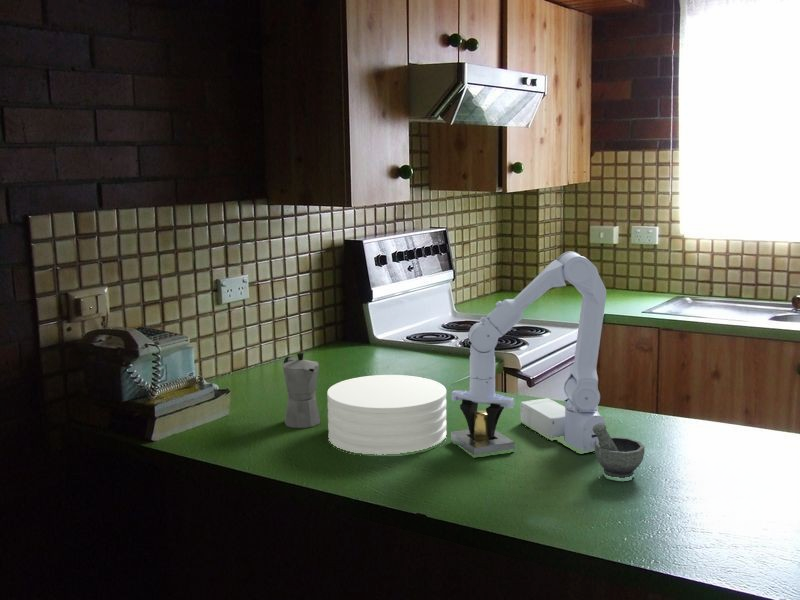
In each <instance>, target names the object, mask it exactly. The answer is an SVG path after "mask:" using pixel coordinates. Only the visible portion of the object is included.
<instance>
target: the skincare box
mask: <svg viewBox="0 0 800 600" xmlns="http://www.w3.org/2000/svg"><path fill="white" fill-rule="evenodd" d="M520 420H521V421H522V422H524V423H526V424H527V425H529V426H531V427H532V428H534V429H536V430H537V431H539V432H540V433H542V434H544V435H545V436H547V437H549V438H554V437H560V436H565V405H562V404H560V403H559V402H556V401H554V400H552V399H550V398H549V397H546V398H538V399H531V400H526V401H520ZM520 420H519V421H520Z"/></svg>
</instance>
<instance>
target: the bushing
mask: <svg viewBox="0 0 800 600" xmlns="http://www.w3.org/2000/svg"><path fill="white" fill-rule="evenodd" d="M473 440H474V441H476V442H480V441H487V440H491V437H488V419H487V413H486V410H483V409H482V410H477V411H475V412H474V438H473Z"/></svg>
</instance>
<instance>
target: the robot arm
mask: <svg viewBox="0 0 800 600" xmlns="http://www.w3.org/2000/svg"><path fill="white" fill-rule="evenodd" d="M566 281H567V282H568V283H569V284H571V285H573V286H574V288H575V289H576V290H577V291H578V293H580V295H582V298H581V306H580V314H579V320H578V321H579V322H578V329H577V337H576V344H575V352H574V358H573V364H572V365H571V367H570V370H569V375H568V377H567V379H566V380H565V381H564V384H563V391H564V394H565V396H566V397H567V398H568V399H567V401H566V402H565V404H564V407H565V436H564V441H565V442H566V443H567V444H569V445H572V446H574V447H577V448H579V449H580V450H582V451H586V450H587V451H588V450H593V449H594V450H595V442H597V441H598V438H597V435H596V434H595V433H594V432H593V430H592V429H593V427H594V426H595V425H596V424H598V423H604V424H605V426H606V427H607V424H606V420H605V418H604V417H603V416H601V414H600V413H599V410H598V409H599V406H598V405H599V404H600V401H601V394H600V391H599V386H598V385H599V376H598V374H597V373H598V372H597V366H598V365H597V364H598V358H599V352H600V351H599V350H600V344H601V336H602V335H601V334H602V330H603V323H604V322H603V321H604V315H605V308H606V300H607V289H606V288H607V287H606V286H605V284H604V282H603V279H602V278H601V276H600V274H599V271H598V267H597V266H595V265H594V263H592V262H591V261H590V260H589V259H588V258H587V257H585V256H581V254H579V253H578V252H576V251H572V250H571V251H565V252H563V253H562V254H560V255H559V257H558V258H557V259H554V260H553V261H551V262H550V263H549V264H548V265H547V266H546V267H545V268H544V269H542V271H541V272H540V273H539V274H538V275H536V277H535V278H534V279H532V281H530V283H528V284H527V286H525V287H524V288H523V289H522V290H521V291H520V292H519V293H518V294H517V295H516V296H515V297H514V298H513V299H512V298H511V299H509V298H506V299H504V300H503V301H501V300H498V301H497V302H496V303H495V306H496V307H494V309H492V310H491V311H490V312H489V313H488V314H487V315H486V316H481V317H480V318H479V322H476V323H474V324H473V325H472V326H470V329H469V331H468V333H467V338H468V340H469V342H470V343H471V344H470V349H469V353H470V355H469V390H459V389H458V390H455V389H454V390H453V391H451V401H461V404H459V409H460V410H461V412H462V413H463V415H464V418H465V420H466V423H467V427H468V429H469V432H470V434H473V433H474V412H475V411H478V405H479V404H483V405H489V406H488V407H486V408H485V411H486V413H487V419H488V437H492V436H493V435H494V434H495V430H496V428H497V423H498V421H499V419H500V416H501V414H502V412H503V411H504V409H505V408H506V409H513V408H514V407H515V397H509V396H504V395H503V394H498V393H496V355H495V348H496V347H497V345H498V340H499V338H502V337H504V336H505V334H507V333H508V332H509V331H510V330H511V329H512V328H513V327H514V326H516V325H517V324H518V323H519V322H521V320H522V319H523V316H524V310H526V309H527V308H528V307H529V306H530V305H532V304H533V303H534V302H535V301H536V300H538V299H539V298H540V297H541V296H543V295H544V294H545V293H546V292H547V291H549V290H550V289H552V288H558V287H566V286H567V284H566Z"/></svg>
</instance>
